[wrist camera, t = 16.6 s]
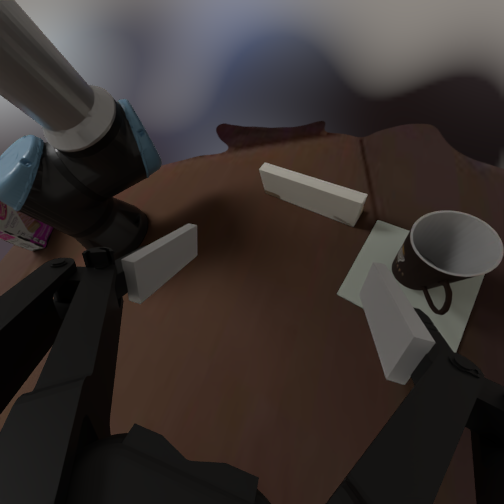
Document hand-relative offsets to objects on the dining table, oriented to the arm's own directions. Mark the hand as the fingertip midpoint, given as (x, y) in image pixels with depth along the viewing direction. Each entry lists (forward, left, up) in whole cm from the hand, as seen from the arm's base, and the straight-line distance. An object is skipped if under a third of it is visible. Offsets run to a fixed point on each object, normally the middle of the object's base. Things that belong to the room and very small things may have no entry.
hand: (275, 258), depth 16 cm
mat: (+13, +14, -22) cm, 29 cm away
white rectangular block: (-8, +20, -22) cm, 31 cm away
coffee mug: (+13, +14, -22) cm, 29 cm away
